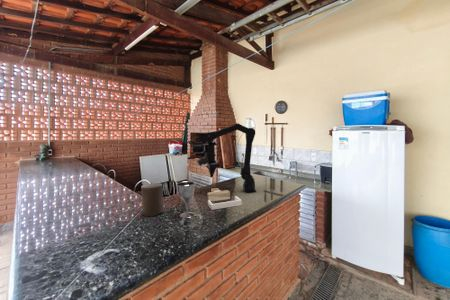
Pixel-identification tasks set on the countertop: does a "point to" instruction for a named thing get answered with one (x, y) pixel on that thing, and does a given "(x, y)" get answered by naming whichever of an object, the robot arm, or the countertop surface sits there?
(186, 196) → the wine glass
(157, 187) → the pillar candle
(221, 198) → the t block
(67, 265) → the countertop surface
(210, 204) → the bracket
